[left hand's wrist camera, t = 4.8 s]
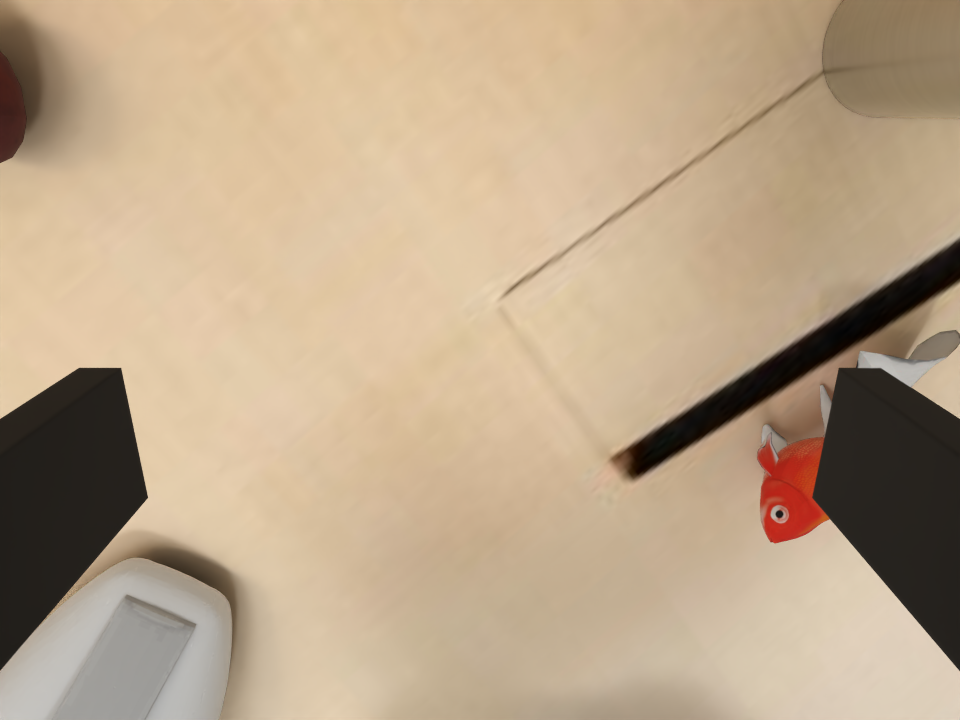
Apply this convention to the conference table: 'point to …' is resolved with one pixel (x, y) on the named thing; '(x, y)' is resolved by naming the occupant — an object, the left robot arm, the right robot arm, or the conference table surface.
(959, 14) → the bottle
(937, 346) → the fish
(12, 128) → the dark red ball
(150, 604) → the projector
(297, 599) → the conference table surface
